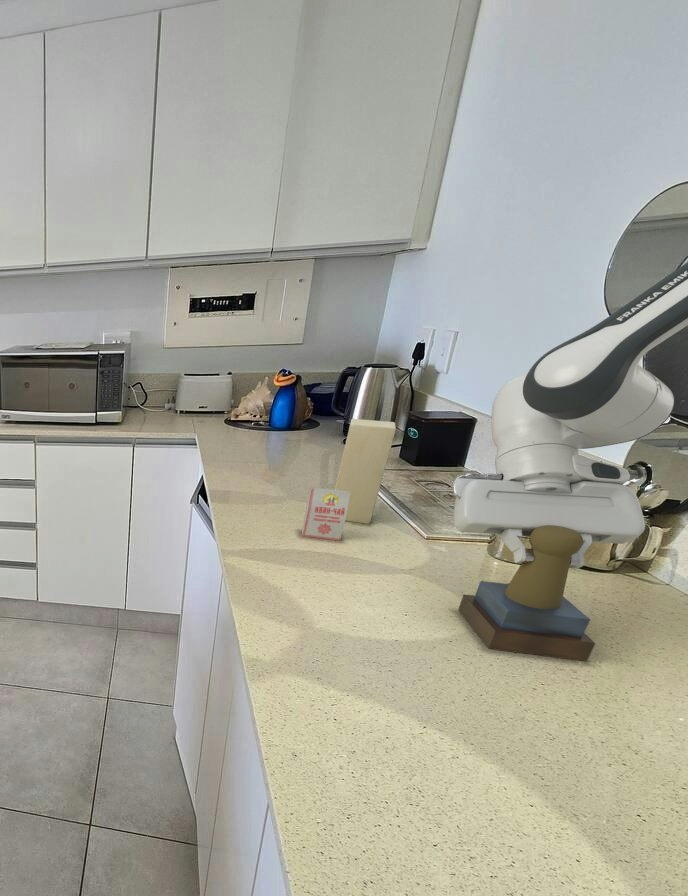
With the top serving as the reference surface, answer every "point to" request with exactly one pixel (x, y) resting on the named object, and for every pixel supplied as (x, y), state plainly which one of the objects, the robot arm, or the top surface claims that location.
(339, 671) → the top surface
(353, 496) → the cream tall block
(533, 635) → the block stack
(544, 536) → the cork
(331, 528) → the tea bag
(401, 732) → the top surface
